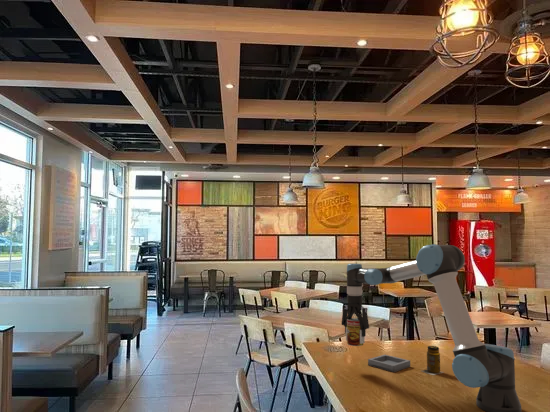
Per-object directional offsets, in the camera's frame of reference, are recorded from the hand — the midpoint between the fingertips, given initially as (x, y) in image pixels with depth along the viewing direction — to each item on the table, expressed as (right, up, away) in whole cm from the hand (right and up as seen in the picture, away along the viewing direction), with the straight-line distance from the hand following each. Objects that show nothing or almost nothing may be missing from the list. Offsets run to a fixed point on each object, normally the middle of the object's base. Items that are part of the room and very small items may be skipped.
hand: (355, 341), depth 205 cm
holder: (+19, -14, +6) cm, 24 cm away
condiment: (+37, -14, -3) cm, 40 cm away
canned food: (0, -1, 0) cm, 2 cm away
